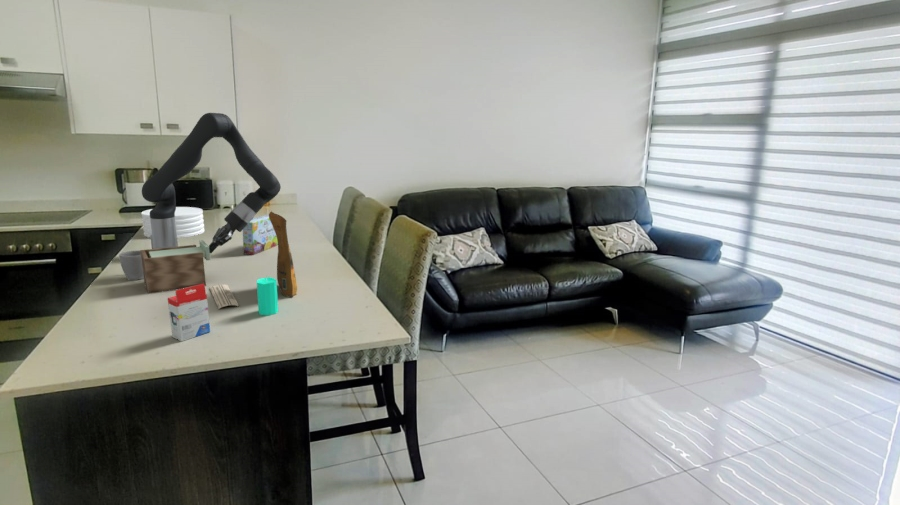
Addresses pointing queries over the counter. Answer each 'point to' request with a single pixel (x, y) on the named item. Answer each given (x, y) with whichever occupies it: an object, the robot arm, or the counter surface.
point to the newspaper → (223, 296)
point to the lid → (183, 251)
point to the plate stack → (180, 222)
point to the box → (172, 270)
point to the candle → (267, 296)
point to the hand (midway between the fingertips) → (208, 251)
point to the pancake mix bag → (284, 257)
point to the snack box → (259, 235)
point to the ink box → (189, 313)
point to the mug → (132, 264)
